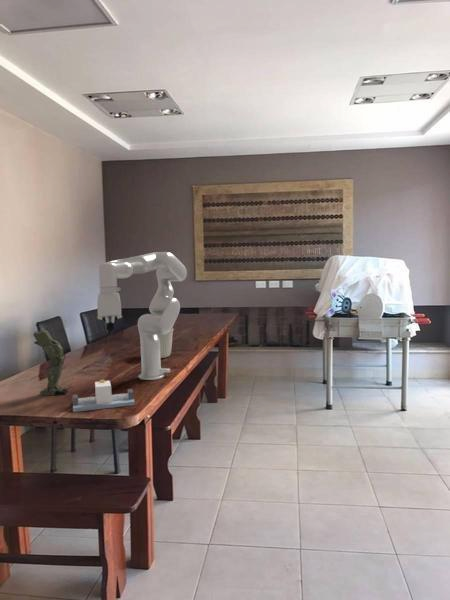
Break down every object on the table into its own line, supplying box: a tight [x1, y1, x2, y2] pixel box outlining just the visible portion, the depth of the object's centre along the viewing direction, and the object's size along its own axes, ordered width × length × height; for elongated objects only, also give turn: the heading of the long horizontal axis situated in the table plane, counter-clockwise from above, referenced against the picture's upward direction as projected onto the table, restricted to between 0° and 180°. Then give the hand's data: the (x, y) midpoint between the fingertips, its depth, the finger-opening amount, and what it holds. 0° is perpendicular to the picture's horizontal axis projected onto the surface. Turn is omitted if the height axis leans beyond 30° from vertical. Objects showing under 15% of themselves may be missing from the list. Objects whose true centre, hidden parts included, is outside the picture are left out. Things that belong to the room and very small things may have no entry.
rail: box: [72, 388, 135, 407], centre depth 196 cm, size 24×5×3 cm, turn 107°
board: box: [72, 398, 136, 413], centre depth 196 cm, size 24×12×2 cm, turn 107°
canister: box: [157, 327, 174, 359], centre depth 284 cm, size 18×18×21 cm
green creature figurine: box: [32, 329, 69, 396], centre depth 212 cm, size 14×7×30 cm, turn 92°
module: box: [94, 379, 113, 404], centre depth 196 cm, size 6×8×8 cm
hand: (110, 331), depth 212 cm, fingers closed
